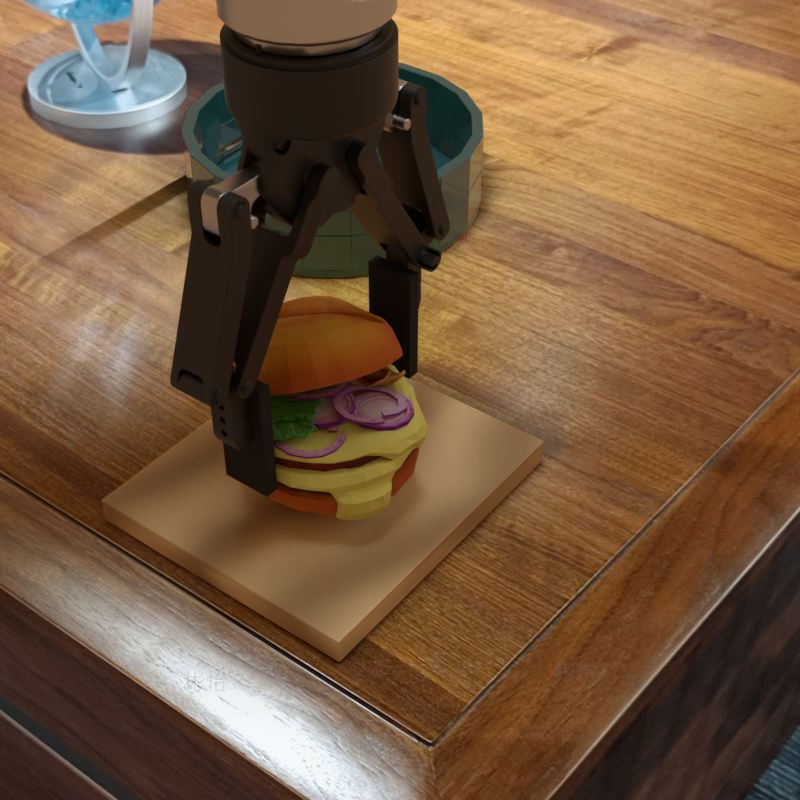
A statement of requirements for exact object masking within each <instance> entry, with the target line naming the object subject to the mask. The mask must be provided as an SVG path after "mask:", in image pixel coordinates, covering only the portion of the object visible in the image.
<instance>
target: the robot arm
mask: <svg viewBox="0 0 800 800" xmlns="http://www.w3.org/2000/svg"><path fill="white" fill-rule="evenodd" d="M215 6H216V13H217V18H219V20H220V21H222V23H223V25H222V26H221V29H220V32H219V46H220V56H221V68H222V82H224V93H225V101H226V104H227V107H228V109H229V111H230V113H231V114H232V116H233V118H234V120H235V121H236V123H237V125H238V127H239V129H240V132H241V134H242V139H241V142H242V149H241V154H240V158H239V161H238V166H237V173H235V174H234V175H232V176H230V177H229V178H227V179H225V180H224V181H222V182H221V183H219V184H217V185H214V184H212V183H209V182H207V181H204V180H201V179H199V180H196V181H195V182H194V183H193V184H192V185H191V187H190V188H189V191H188V190H187V198H186V199H187V206H188V215H189V222H190V230H191V231H190V232H191V234H190V240H189V248H188V254H187V261H186V269H185V274H184V281H183V289H182V295H181V302H180V310H179V315H178V322H177V323H178V324H177V330H176V335H175V343H174V351H173V355H172V362H171V363H172V364H171V369H170V378H169V382H170V386H171V387H172V388H174V389H175V390H178V391H180V392H181V393H183V394H185V395H187V396H189V397H190V398H193V399H194V400H197V401H198V402H200V403H202V404H204V405H206V406H208V407H209V408H210V414H211V418H212V423H213V432H214V434H215V436H216V437H217V439H219V440H221V441H223V448H224V457H225V466H226V475H228V476H230V477H232V478H234V479H235V480H237V481H239V482H241V483H243V484H244V485H246V486H248V487H250V488H252V489H254V490H255V491H257V492H259V493H261V494H263V495H264V496H266V497H268V496H269V495H270V494H272V493H273V492H274V491H275V490H276V489H277V477H276V464H275V451H274V438H273V425H272V412H271V399H270V385H268V384H266V383H264V382H262V381H260V380H258V377H259V374H260V371H261V368H262V365H263V362H264V359H265V356H266V353H267V350H268V347H269V343H270V340H271V337H272V334H273V331H274V328H275V325H276V322H277V319H278V316H279V313H280V310H281V307H282V304H283V303H284V302H285V298H286V296H287V292H288V289H289V286H290V284H291V280H292V278H293V275H292V274H293V271H294V268H295V265H296V263H297V261H298V260H299V259H302V258H305V257H306V256H307V255H308V254H309V252H310V250H311V247H312V244H313V241H314V238H315V235H316V232H317V229H318V228H319V227H321V226H322V225H323V224H324V223H325V222H326V221H327V220H328V219H329V218H330V217H331V216H332V215H333V214H335V213H338V212H341V211H345V210H346V209H348V208H350V210H351V211H352V213H353V214H354V215H355V217H356V218H357V219H358V221H359V222H360V224H361V225H362V226H363V228H364V229H365V230H366V232H367V233H368V235H369V236H370V237H371V239H372V240H373V242H374V243H375V244H376V246H377V247H378V248H379V250H380V251H382V252H384V253H386V259H385V258H382V257H380V256H378V255H377V256H375V257H374V258H373V259H371V260H370V261H368V274H369V275H368V312H369V313H372V314H374V315H376V316H378V317H381V318H383V319H384V320H385V321H386V322H387V323H388V324H389V325H390V327H391V328H392V329H393V332H394V334H395V336H396V338H397V340H398V342H399V344H400V346H401V348H402V353H403V355H402V356H401V357H400V358H399V359H397V360H396V361H394V362H393V363H391V364H392V365H393V366H395V368H396V369H397V370H398V371H399V373H401V372H402V371H404V370H405V372H406V373H405V375H404V377H406V378H408V379H410V378H411V379H412V378H413V377H414V376H415V375H417V374H418V372H419V371H418V370H419V369H418V367H419V366H418V365H419V364H418V362H419V309H420V305H421V302H422V291H421V290H422V285H421V284H422V270H425V271H427V272H430V273H433V272H435V271H436V270H437V269H438V267H439V266H440V263H441V260H442V252H441V251H439V250H436V249H434V248H431V247H429V244H430V243H431V242H432V241H433V239H436V240H438V241H442V240H443V239H444V238H445V237H446V236H447V234H448V232H449V228H450V222H449V218H448V214H447V210H446V206H445V202H444V198H443V194H442V190H441V186H440V182H439V178H438V174H437V170H436V166H435V162H434V158H433V154H432V151H431V147H430V143H429V139H428V135H427V131H426V90H425V88H424V87H421V86H419V85H416V84H413V83H410V82H407V81H404V80H401V79H398V62H399V27H398V25H397V23H396V21H395V20H394V19H393V16H395V14H396V12H397V9H398V0H215ZM376 148H377V149H378V152H379V155H380V159H381V162H382V165H383V166H382V165H381V163H380V162H379V160H378V159H379V155H378V153H377V152H376ZM266 213H268V214H269V215H270V216H271V217H272V218H273V219H274V220H276V221H278V222H280V223H283V224H285V225H288V226H290V227H292V228H291V231H290V233H289V235H287V234H284V233H282V232H280V231H277V230H275V229H273V228H270V227H268V226H267V225H266V224H265V216H266ZM233 362H234V363H235V364H236V367H235V366H233Z"/></svg>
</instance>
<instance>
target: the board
mask: <svg viewBox="0 0 800 800" xmlns="http://www.w3.org/2000/svg"><path fill="white" fill-rule="evenodd" d="M403 378H404V379H405V380H406V381H407V382H408V383H409V384H411V385H412V386H413V388H414V392H415V396H416V399H417V402H418V404H419V406H420V409H421V411H422V413H423V416H424V418H425V420H426V423H427V425H428V427H429V428H428V433H427V437H426V439H425V442H424V444H423V445H422V446H421V447H420V448H419V454H418V458H417V462H416V465H415V469H414V473H413V475H412V476H411V477H410V478H409V479H408V480H407V482H406V483H405V484H404V485H403V486H402V487H401V489H400V490H399V491H398V492H397V493H396V494H395V495H394V496H392V497H391V501H390V504H389V505H388V506H387V507H386V508H385V509H384V510H383V511H382V512H381V513H379V514H377V515H374V516H372V517H370V518H368V519H362V520H352V521H350V520H344V519H338V518H337V517H336V514H335V515H328V514H321V513H315V512H308V511H301V510H296V509H294V508H291V507H289V506H286V505H284V504H281V503H278V502H276V501H273V500H271V499H269V498H267V497H266V496H264V495H263V494H261V493H259V492H257V491H255V490H254V489H252V488H250V487H248V486H246V485H244V484H243V483H241V482H239V481H237V480H235V479H234V478H232V477H230V476H228V475H226V466H225V457H224V448H223V441H221V440H219V439H217V437H216V436H215V434H214V432H213V423H212V417H210V418H209V419H207V420H206V421H204V422H203V423H202V424H201V425H199V426H198V427H197V428H195V429H194V430H192V431H191V432H190V433H189V434H187V435H186V436H185V437H183V438H182V439H181V440H179V441H178V442H177V443H175V444H174V445H173V446H171V447H169V449H168V450H166V451H164V452H163V453H162V454H160V455H159V456H158V457H157V458H155V459H154V460H152V461H151V462H150V463H148V464H147V465H145V466H144V467H143V468H142V469H140V470H139V471H138V472H137V473H135V474H134V475H132V476H131V477H130V478H129V479H127V480H126V481H124V482H123V483H122V484H121V485H118V487H116V488H115V489H114V490H113V491H111V492H110V493H108V494H107V495H106V496H104V497H103V498H102V499H101V506H102V507H101V508H102V513H103V516H104V520H105V521H106V522H107V523H109V524H111V525H112V526H114V527H116V528H118V529H119V530H120V531H123V532H124V533H126V534H128V535H129V536H131V537H132V538H134V539H136V540H137V541H139V542H140V543H142V544H144V545H146V546H147V547H149V548H151V550H153V551H155V552H157V553H159V554H160V555H162V556H164V557H165V558H167V559H169V560H170V561H172V562H173V563H175V564H177V565H178V566H180V567H181V568H183V569H185V570H187V571H188V572H190V573H191V574H193V575H195V576H196V577H198V578H200V579H201V580H203V581H204V582H206V583H208V584H210V585H211V586H213V587H215V588H216V589H218V590H219V591H221V592H223V593H224V594H226V595H228V596H229V597H231V598H232V599H234V600H235V601H238V602H239V603H241V604H243V606H246V607H247V608H249V609H251V610H252V611H254V612H256V613H257V614H259V615H261V616H262V617H264V618H266V619H267V620H268V621H271V622H272V623H274V624H275V625H276V626H279V627H280V628H282V629H283V630H285V631H287V632H289V633H290V634H291V635H293V636H295V637H297V638H298V639H300V640H302V641H303V642H305V643H306V644H308V645H310V646H312V647H313V648H315V649H316V650H318V651H320V652H322V654H324V655H326V656H328V657H330V658H331V659H332V660H335V661H336V662H338V663H340V662H341V661H342V660H344V658H345V657H346V656H347V655H349V653H350V652H352V650H354V649H355V648H356V646H357V645H358V644H360V642H362V641H363V640H364V639H365V638H366V637H367V636H368V635H369V634H370V633H371V631H373V630H374V629H375V628H376V626H378V625H379V624H380V623H381V622H382V621H383V620H384V619H385V618H386V617H387V615H388V614H390V613H391V612H392V611H393V610H394V609H395V608H396V607H397V606H398V605H399V604H400V603H401V602H402V601H403V600H404V599H405V598H406V597H407V596H408V595H409V594H410V593H411V592H412V591H413V590H414V589H415V588H416V587H417V586H419V584H420V583H421V582H422V581H423V580H424V579H425V578H426V577H427V576H428V575H429V574H430V573H431V572H432V571H433V570H434V569H435V568H436V567H437V566H438V565H439V564H440V563H441V562H442V561H443V560H444V559H445V558H446V557H447V556H448V555H449V554H450V553H451V552H452V551H453V550H454V549H455V548H456V547H457V546H458V545H459V544H460V543H461V542H462V541H463V540H464V539H465V538H466V537H467V536H469V534H470V533H471V532H472V531H473V530H474V529H475V528H476V527H477V526H478V525H479V524H481V522H482V521H484V520H485V518H486V517H487V516H488V515H489V514H491V512H492V511H493V510H494V509H495V508H497V506H498V505H500V503H502V501H503V500H504V499H505V498H506V497H507V496H508V495H509V494H511V493H512V492H513V491H514V489H515V488H516V487H518V485H520V484H521V483H522V481H523V480H525V478H526V477H528V475H529V474H531V473H532V472H533V471H534V470H535V469H536V468H537V467H538V466H539V464H541V462H542V461H543V458H544V446H545V441H544V440H543V439H541V438H539V437H537V436H535V435H532V434H530V433H528V432H525V431H523V430H521V429H519V428H517V427H515V426H513V425H511V424H509V423H507V422H505V421H502V420H500V419H498V418H496V417H494V416H492V415H489V414H487V413H485V412H483V411H481V410H479V409H477V408H475V407H473V406H470V405H468V404H466V403H464V402H462V401H460V400H458V399H456V398H453V397H451V396H449V395H447V394H445V393H443V392H441V391H439V390H437V389H434V388H432V387H430V386H428V385H426V384H423V383H422V382H419V381H417V380H415V379H413V378H412V377H411V378H410V379H408V378H406V377H404V376H403Z"/></svg>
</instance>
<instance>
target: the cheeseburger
mask: <svg viewBox="0 0 800 800" xmlns="http://www.w3.org/2000/svg"><path fill="white" fill-rule="evenodd" d="M402 355H403V353H402V348H401V346H400V344H399V342H398V340H397V338H396V336H395V334H394V332H393V329H392V328H391V327H390V325H389V324H388V323H387V322H386V321H385V320H384V319H383V318H381V317H378V316H376V315H374V314H372V313H369V311H367V310H365V309H362V308H361V307H359V306H357V305H354V304H352V303H351V302H348V301H346V300H345V299H342V298H338V297H335V296H330V295H311V296H303V297H298V298H295V299H289V300H287V301H283V304H282V307H281V310H280V313H279V316H278V319H277V322H276V325H275V328H274V331H273V334H272V337H271V340H270V343H269V347H268V350H267V353H266V356H265V359H264V362H263V365H262V368H261V371H260V374H259V377H258V380H260V381H262V382H264V383H266V384H268V385H270V399H271V412H272V425H273V438H274V451H275V464H276V477H277V489H276V490H275V491H274V492H273V493H272V494H270V495H269V496H268V497H267V498H269V499H271V500H273V501H276V502H278V503H281V504H284V505H286V506H289V507H291V508H294V509H296V510H301V511H308V512H315V513H321V514H328V515H335V514H336V517H337V518H338V519H344V520H350V521H352V520H362V519H368V518H370V517H372V516H374V515H377V514H379V513H381V512H382V511H383V510H384V509H385V508H386V507H387V506H388V505H389V504H390V501H391V497H392V496H394V495H395V494H396V493H397V492H398V491H399V490H400V489H401V487H402V486H403V485H404V484H405V483H406V482H407V480H408V479H409V478H410V477H411V476H412V475H413V473H414V469H415V465H416V462H417V458H418V454H419V448H420V447H421V446H422V445H423V444H424V442H425V439H426V437H427V433H428V428H429V427H428V425H427V423H426V420H425V418H424V416H423V413H422V411H421V409H420V406H419V404H418V402H417V399H416V396H415V392H414V388H413V386H412V385H411V384H409V383H408V382H407V381H406V380H405V379H404V378H403V376H404V375H405V373H406V372H405V370H404V371H402V372H401V373H399V371H398V370H397V369H396V368H395V366H393V365H392V364H391V363H393V362H394V361H396V360H397V359H399V358H400V357H401V356H402ZM233 366H235V367H236V364H235V363H234V362H233Z"/></svg>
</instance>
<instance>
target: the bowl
mask: <svg viewBox="0 0 800 800" xmlns="http://www.w3.org/2000/svg"><path fill="white" fill-rule="evenodd" d="M398 79H401V80H404V81H407V82H410V83H413V84H416V85H419V86H421V87H424V88H425V90H426V131H427V135H428V139H429V143H430V147H431V151H432V154H433V158H434V162H435V166H436V170H437V174H438V178H439V182H440V186H441V190H442V194H443V198H444V202H445V206H446V210H447V214H448V218H449V222H450V228H449V232H448V234H447V236H446V237H445V238H444V239H443V240H442V241H438V240H436V239H433V241H432V242H431V243H430V244H429V247H431V248H434V249H436V250H439V251H441V253H442V252H444V251H446V250H447V249H449V248H450V247H453V245H454V244H455V243H456V242H458V241H459V240H460V239H461V238H462V237H463V236H465V234H466V233H467V232H468V231H469V230H470V228H471V227H472V225H473V224H474V221H475V220H476V218H477V216H478V213H479V208H480V205H481V202H482V184H483V183H482V182H483V164H484V163H483V162H484V161H483V160H484V140H485V139H484V138H485V137H484V136H485V132H484V117H483V115H484V114H483V112H482V111H481V109H480V108H479V106H477V104H476V103H475V101H474V100H473V98H472V97H471V96H470V95H469V93H468V92H467V91H466V90H464V89H463V88H461V87H459V86H458V85H456V84H455V83H453V82H451V81H450V80H448V79H447V78H445V77H443V76H442V75H439V74H437V73H434V72H431V71H428V70H426V69H422V68H419V67H417V66H413V65H411V64H408V63H404V62H400V61H398ZM181 136H182V137H181V139H182V148H183V157H184V164H185V165H184V167H185V175H186V184H187V192H188V191H189V188H190V187H191V185H192V184H193V183H194V182H195V181H196V180H199V179H201V180H204V181H207V182H209V183H212V184H214V185H217V184H219V183H221V182H222V181H224V180H225V179H227V178H229V177H230V176H232V175H234V174H235V173H237V166H238V161H239V158H240V154H241V149H242V141H241V142H239V143H237V144H235V143H236V142H238V141H240V140H242V134H241V132H240V129H239V127H238V125H237V123H236V121H235V120H234V118H233V116H232V114H231V113H230V111H229V109H228V107H227V104H226V101H225V93H224V81H222V82H220V83H218V84H216V85H214V86H213V87H210V88H208V89H207V91H205V92H204V93H203V95H201V96H200V98H198V99H197V101H195V102H194V103H193V104H192V105H191V106H190V107H189V108H188V110H187V114H186V117H185V120H184V124H183V127H182V129H181ZM233 144H235V145H234V146H232V147H230V148H228V147H229V146H231V145H233ZM226 148H228V149H227V150H224V149H226ZM223 150H224V152H222V151H223ZM221 152H222V153H221ZM376 152H377V153H378V155H379V152H378V149H377V148H376ZM378 160H379V162H380V163H381V165H382V162H381V159H380V155H379V159H378ZM382 166H383V165H382ZM265 224H266V225H267V226H268V227H270V228H273V229H275V230H277V231H280V232H282V233H284V234H287V235H289V233H290V231H291V228H292V227H290V226H288V225H285V224H283V223H280V222H278V221H276V220H274V219H273V218H272V217H271V216H270V215H269V214H268V213H266V216H265ZM377 255H378V256H380V257H382V258H385V259H386V253H384V252H382V251H380V250H379V248H378V247H377V246H376V244H375V243H374V242H373V240H372V239H371V237H370V236H369V235H368V233H367V232H366V230H365V229H364V228H363V226H362V225H361V224H360V222H359V221H358V219H357V218H356V217H355V215H354V214H353V213H352V211H351V210H350V208H348V209H346V210H345V211H341V212H338V213H335V214H333V215H332V216H331V217H330V218H329V219H328V220H327V221H326V222H325V223H324V224H323V225H322V226H321V227H319V228H318V229H317V232H316V235H315V238H314V241H313V244H312V247H311V250H310V252H309V254H308V255H307V256H306V257H305V258H302V259H299V260H298V261H297V263H296V265H295V268H294V271H293V274H292V276H295V277H305V278H318V279H344V278H346V279H347V278H359V277H367V276H368V277H369V274H368V261H370V260H371V259H373V258H374V257H375V256H377Z"/></svg>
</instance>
